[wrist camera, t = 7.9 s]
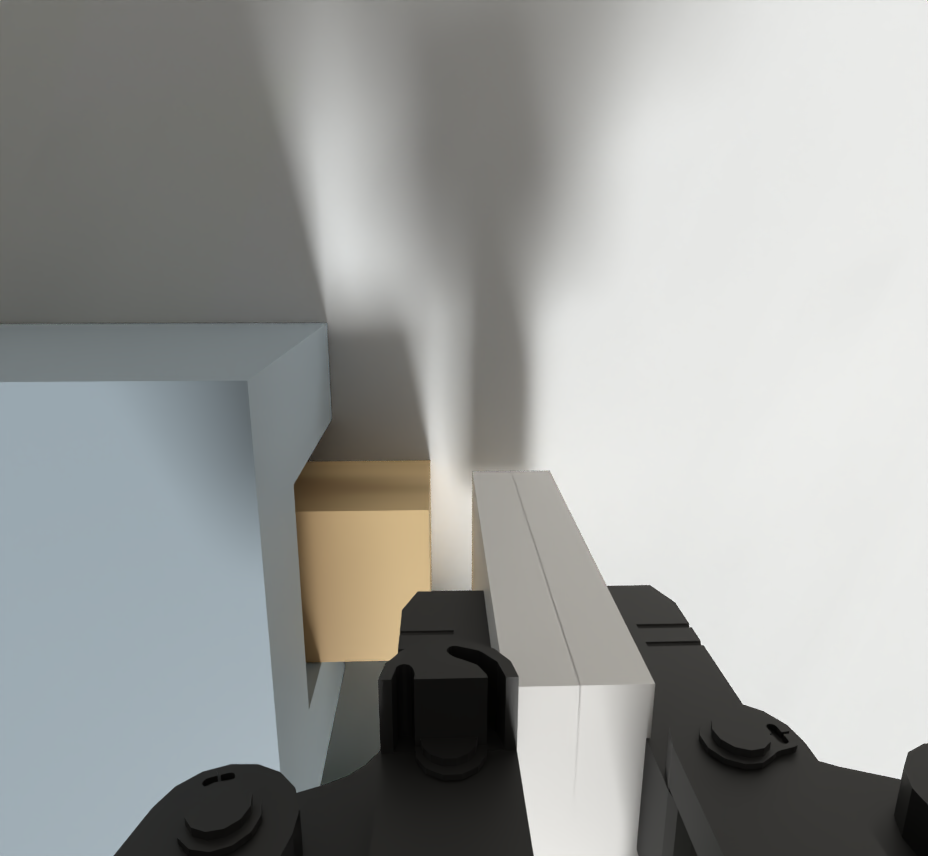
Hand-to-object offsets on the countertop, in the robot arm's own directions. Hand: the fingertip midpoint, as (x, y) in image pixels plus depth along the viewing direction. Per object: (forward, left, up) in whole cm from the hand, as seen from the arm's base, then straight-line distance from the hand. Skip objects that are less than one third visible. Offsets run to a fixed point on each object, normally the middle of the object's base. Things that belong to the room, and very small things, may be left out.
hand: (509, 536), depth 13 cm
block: (-8, 0, -2) cm, 8 cm away
